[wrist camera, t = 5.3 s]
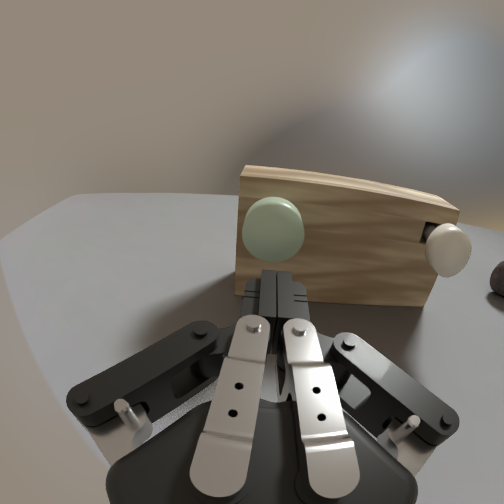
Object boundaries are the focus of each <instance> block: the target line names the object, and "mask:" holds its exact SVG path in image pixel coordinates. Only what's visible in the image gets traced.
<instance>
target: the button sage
mask: <svg viewBox="0 0 504 504" xmlns="http://www.w3.org/2000/svg"><path fill="white" fill-rule="evenodd" d="M304 235H305V234H304V227H303V223H302V219H301V215H300V213H299V211H298V209H297V208H296V207H295V206H294V205H293V204H292V203H291V202H289V201H288V200H286V199H283V198H280V197H267V198H263V199H261V200H259V201H257V202H255V203H254V204H253V205H252V206H251V207H250V208H249V210H248V212H247V214H246V217H245V221H244V224H243V228H242V239H243V243H244V245H245V247H246V249H247V250H248V251H249V252H250V253H251V254H252V255H253V256H254V257H256V258H258V259H260V260H262V261H266V262H281V261H284V260H287V259H289V258H291V257H292V256H294V255H295V254H296V253H297V252H298V251H299V249H300V248H301V246H302V244H303V241H304Z"/></svg>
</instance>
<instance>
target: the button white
mask: <svg viewBox="0 0 504 504" xmlns="http://www.w3.org/2000/svg"><path fill="white" fill-rule="evenodd" d="M422 236H423V237H424V238H425V239H426V240H427V242H426V245H425V257H426V259H427V261H428V262H429V264H430V265H431V266H432V267H433V268H434V270H435V271H436V272H437V273H438V274H439V275H440V276H442V277H451V276H454V275H456V274H457V273H459V272H460V271H461V270H462V269H463V268H464V267H465V265H466V264H467V262H468V260H469V258H470V255H471V249H472V246H471V241H470V239H469V237H468V236H467V235H466V234H465V233H463V232H462V231H461V230H460V229H459V228H457V227H456V226H455V225H453V224H450V223H446V224H442V225H440V226H438V227H437V228H436V227H435V226H434V225H432V224H431V223H430V222H425V226H424V229H423V232H422Z"/></svg>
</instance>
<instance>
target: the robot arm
mask: <svg viewBox="0 0 504 504" xmlns="http://www.w3.org/2000/svg"><path fill="white" fill-rule="evenodd" d="M306 296H307V295H306V289H305V287H304V286H303V285H302V283H301V282H292V274H291V272H289V271H277V272H276V270H266V269H262V272H261V279H257V278H250V279H249V280H248V281H247V282H246V284H245V290H244V297H243V303H242V310H241V316H240V319H239V320H238V322H237V323H236V324H235V325H233V326H231V327H228V328H223V329H217V327H216V326H215V325H214V324H212V323H210V322H207V321H195V322H192V323H190V324H189V325H187V326H185V327H183V328H182V329H180V330H178V331H176V332H175V333H173V334H171V335H169V336H167V337H166V338H164V339H162V340H160V341H158V342H157V343H155V344H153V345H151V346H149V347H148V348H146V349H144V350H142V351H140V352H138V353H137V354H135V355H133V356H131V357H129V358H127V359H126V360H124V361H122V362H120V363H118V364H116V365H114V366H112V367H111V368H109V369H107V370H105V371H103V372H101V373H99V374H97V375H95V376H93V377H91V378H90V379H88V380H86V381H84V382H82V383H80V384H78V385H76V386H74V387H73V388H72V389H71V390H70V391H69V392H68V394H67V398H66V403H67V406H68V408H69V410H70V411H71V412H72V413H73V414H74V416H75V417H76V418H77V420H78V421H79V423H80V424H81V425H82V426H83V427H84V428H85V429H86V430H87V431H88V432H89V433H90V435H91V436H92V438H93V440H94V441H95V443H96V444H97V446H98V448H99V449H100V451H101V452H102V454H103V455H104V457H105V458H106V460H107V461H108V462H109V464H110V465H111V468H110V469H109V471H108V474H107V477H106V490H107V494H108V498H109V501H110V504H415V503H416V500H417V495H418V486H417V482H416V480H415V476H416V474H417V473H418V472H419V470H420V469H421V468H422V467H423V465H424V464H425V462H426V461H427V460H428V458H429V457H430V455H431V454H432V453H433V451H434V450H435V448H436V447H437V446H439V445H440V444H441V443H443V442H444V441H445V440H446V439H448V438H449V437H450V436H451V435H453V434H454V433H455V432H456V431H457V429H458V427H459V417H458V415H457V413H456V412H455V410H453V409H452V408H451V407H450V406H448V405H447V404H446V403H444V402H443V401H442V400H441V399H439V398H438V397H437V396H435V395H434V394H433V393H431V392H430V391H429V390H428V389H426V388H425V387H424V386H422V385H421V384H420V383H418V382H417V381H416V380H415V379H413V378H412V377H411V376H409V375H408V374H407V373H405V372H404V371H403V370H402V369H400V368H399V367H398V366H396V365H395V364H394V363H392V362H391V361H390V360H389V359H387V358H386V357H385V356H383V355H382V354H381V353H380V352H378V351H377V350H376V349H374V348H373V347H372V346H370V345H369V344H368V343H367V342H365V341H364V340H363V339H361V338H360V337H359V336H357V335H355V334H353V333H349V332H343V333H339V334H337V335H336V336H335V338H332V337H328V336H325V335H322V334H320V333H318V332H317V331H316V329H315V327H314V325H313V324H312V323H311V322H310V315H309V308H308V302H307V297H306ZM271 345H272V352H271V354H277V361H276V365H275V373H276V385H277V398H278V403H274V402H270V401H266V400H263V399H260V394H261V387H262V381H263V374H264V368H265V363H266V359H267V354H270V351H271ZM351 374H353V375H354V376H355V377H356V378H358V379H359V380H360V381H361V382H362V383H364V384H365V385H366V386H367V387H368V388H369V389H368V388H367V387H365V386H364V385H363V384H362V383H361V382H359V381H358V380H357V379H356V378H355V377H354V376H352V375H351ZM218 377H219V378H218ZM217 378H218V382H217V385H216V388H215V392H214V395H213V399H212V401H209V402H205V403H203V404H200V405H198V406H196V407H195V408H193V409H192V410H190V411H189V412H187V413H186V414H185V415H183V416H182V417H181V418H179V419H178V420H177V421H175V422H174V423H172V424H171V425H170V426H168V427H167V428H165V429H164V430H163V431H161V432H160V433H158V434H157V435H155V436H154V437H152V438H151V439H150V440H148V441H147V442H145V443H144V441H146V440H147V439H148V438H149V437H150V436H151V434H152V430H153V427H152V423H153V422H155V421H156V420H158V419H160V418H161V417H163V416H164V415H166V414H167V413H169V412H170V411H172V410H173V409H175V408H176V407H178V406H180V405H181V404H182V403H184V402H185V401H187V400H188V399H190V398H191V397H193V396H194V395H196V394H197V393H199V392H200V391H201V390H203V389H204V388H206V387H207V386H208V385H210V384H211V383H213V382H214V381H215V380H216V379H217ZM341 407H342V408H343V409H344V410H345V411H347V412H348V413H349V414H350V415H351V416H352V417H353V418H354V419H355V420H357V421H358V422H359V423H360V424H361V425H362V426H363V427H365V428H366V429H367V430H368V431H369V432H370V433H371V434H373V435H374V436H375V437H376V438H377V441H376V440H375V439H373V438H372V437H371V436H370V435H369V434H368V433H367V432H366V431H365V430H364V429H363V428H362V427H361V426H360V425H359V424H358V423H357V422H356V421H354V420H353V419H352V418H351V417H350V416H349V415H348V414H346V413H345V412H343V411H342V408H341ZM143 443H144V444H143Z"/></svg>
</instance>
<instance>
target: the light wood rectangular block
mask: <svg viewBox="0 0 504 504" xmlns="http://www.w3.org/2000/svg"><path fill="white" fill-rule="evenodd" d="M267 197H280V198H283V199H286V200H288V201H289V202H291V203H292V204H293V205H294V206H295V207H296V208H297V209H298V211H299V213H300V215H301V219H302V223H303V227H304V234H305V235H304V241H303V244H302V246H301V248H300V249H299V251H298V252H297V253H296V254H295V255H294V256H292V257H291V258H289V259H287V260H284V261H281V262H266V261H262V260H260V259H258V258H256V257H254V256H253V255H252V254H251V253H250V252H249V251H248V250H247V249H246V247H245V245H244V243H243V239H242V228H243V224H244V221H245V217H246V214H247V212H248V210H249V208H250V207H251V206H252V205H253V204H254V203H255V202H257V201H259V200H261V199H263V198H267ZM459 213H460V210H458V209H457V208H455V207H454V206H452V205H451V204H449V203H448V202H446V201H445V200H443V199H442V198H440V197H439V196H437V195H433V194H429V193H425V192H420V191H416V190H412V189H407V188H403V187H398V186H393V185H388V184H383V183H378V182H373V181H368V180H362V179H356V178H350V177H344V176H338V175H330V174H324V173H316V172H309V171H301V170H292V169H282V168H273V167H262V166H249V165H246V166H245V168H244V169H243V171H242V173H241V175H240V187H239V204H238V223H237V243H236V265H235V289H234V295H243V296H244V290H245V284H246V282H247V281H248V280H249V279H250V278H257V279H261V272H262V269H266V270H276V272H277V271H289V272H291V274H292V282H301V283H302V285H303V286H304V287H305V289H306V295H307V296H306V297H307V301H312V302H326V303H342V304H361V305H384V306H421V307H424V305H425V303H426V301H427V299H428V297H429V294H430V292H431V290H432V288H433V285H434V283H435V281H436V278H437V276H438V273H437V272H436V271H435V270H434V268H433V267H432V266H431V265H430V264H429V262H428V261H427V259H426V257H425V245H426V242H427V240H426V239H425V238H424V237H423V236H422V232H423V229H424V226H425V222H430V223H431V224H432V225H434V226H435V227H436V228H437V227H438V226H440V225H442V224H446V223H450V224H453V225H455V226H456V223H457V220H458V217H459Z"/></svg>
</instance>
